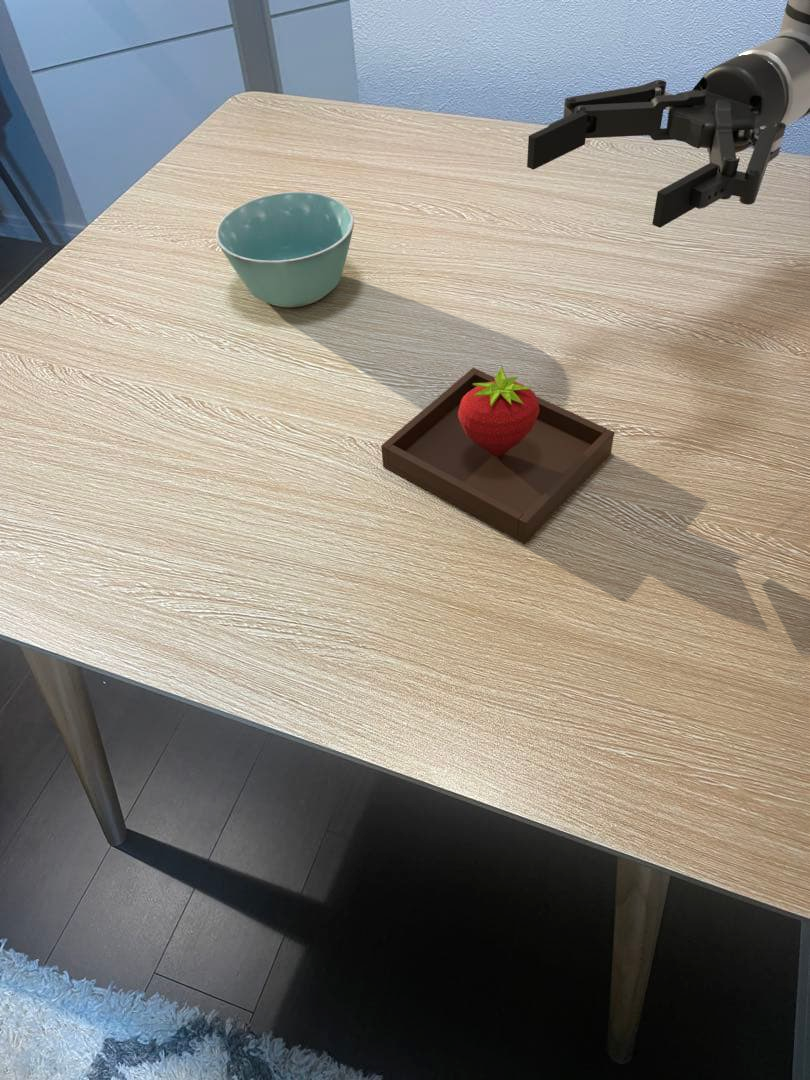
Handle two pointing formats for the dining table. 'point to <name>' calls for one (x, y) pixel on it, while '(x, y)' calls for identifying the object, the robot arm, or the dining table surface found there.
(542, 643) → the dining table surface
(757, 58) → the robot arm
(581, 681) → the dining table surface
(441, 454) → the tray
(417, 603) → the dining table surface
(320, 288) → the bowl
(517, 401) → the strawberry
